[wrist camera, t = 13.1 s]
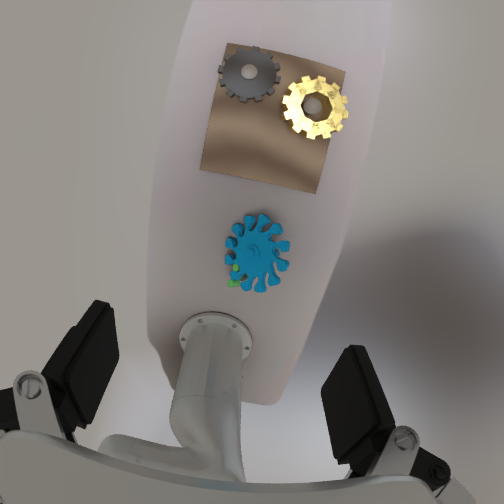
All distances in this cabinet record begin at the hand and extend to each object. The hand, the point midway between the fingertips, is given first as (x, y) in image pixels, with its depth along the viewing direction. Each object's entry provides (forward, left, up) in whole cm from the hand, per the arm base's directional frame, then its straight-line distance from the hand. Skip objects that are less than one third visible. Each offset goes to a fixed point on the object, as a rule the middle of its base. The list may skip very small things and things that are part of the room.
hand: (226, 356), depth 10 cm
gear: (-8, +2, -29) cm, 30 cm away
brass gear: (+7, -11, -27) cm, 30 cm away
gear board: (+8, -7, -28) cm, 30 cm away
